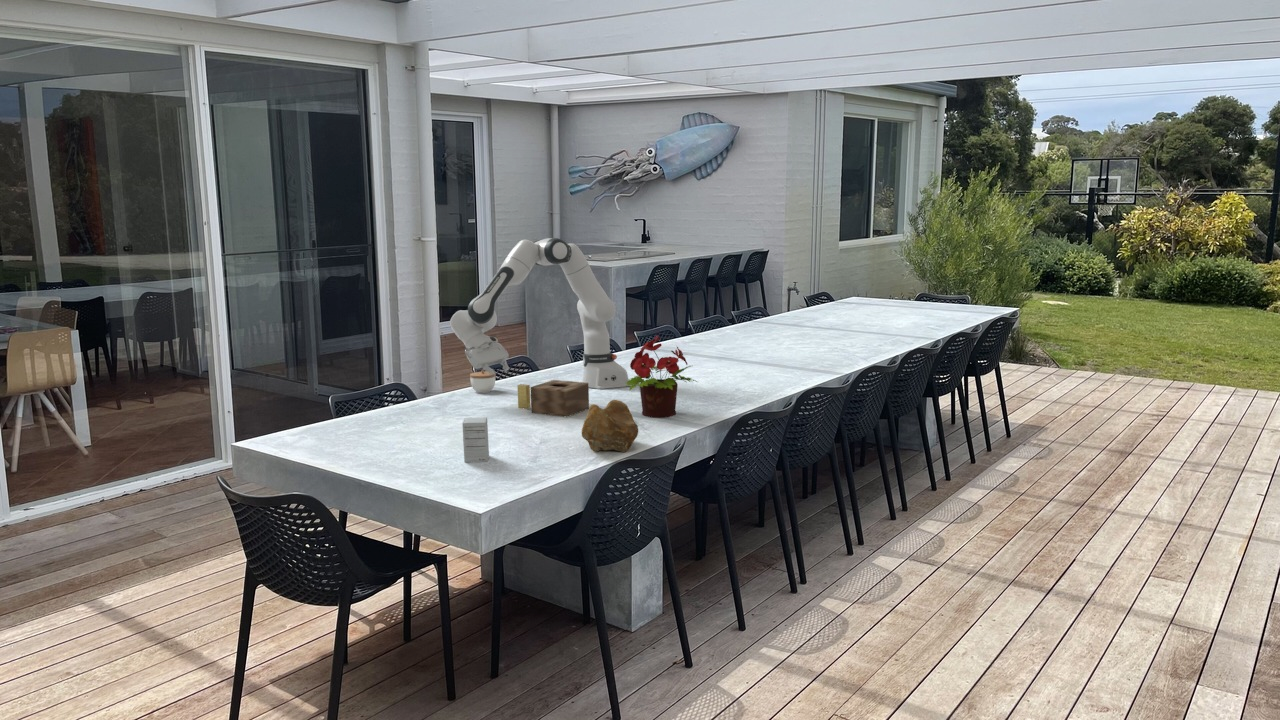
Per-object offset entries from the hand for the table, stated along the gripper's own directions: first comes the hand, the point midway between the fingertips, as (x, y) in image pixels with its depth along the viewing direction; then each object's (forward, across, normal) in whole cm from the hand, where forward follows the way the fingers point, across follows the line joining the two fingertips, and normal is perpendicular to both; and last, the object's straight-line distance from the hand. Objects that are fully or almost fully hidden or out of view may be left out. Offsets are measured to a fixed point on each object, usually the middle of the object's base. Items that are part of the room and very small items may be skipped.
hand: (500, 371), depth 374 cm
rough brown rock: (+61, -39, -42) cm, 84 cm away
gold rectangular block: (+17, 0, +2) cm, 17 cm away
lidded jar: (-7, +20, +26) cm, 34 cm away
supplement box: (+37, -68, -18) cm, 80 cm away
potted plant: (+55, +9, -36) cm, 66 cm away
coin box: (+28, +1, -9) cm, 30 cm away
